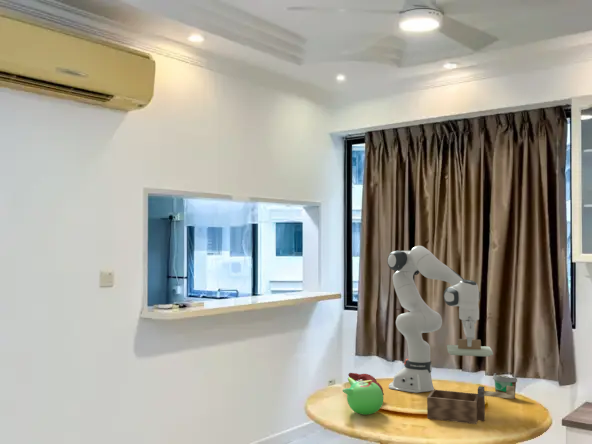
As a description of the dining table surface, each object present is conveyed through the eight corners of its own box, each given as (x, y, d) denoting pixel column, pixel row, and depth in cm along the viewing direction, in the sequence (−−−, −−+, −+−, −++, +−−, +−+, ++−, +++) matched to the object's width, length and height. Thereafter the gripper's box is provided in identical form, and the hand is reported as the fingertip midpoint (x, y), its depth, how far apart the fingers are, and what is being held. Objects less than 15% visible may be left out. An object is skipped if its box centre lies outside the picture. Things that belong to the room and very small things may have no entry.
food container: (487, 395, 292) (487, 374, 293) (495, 393, 296) (495, 372, 296) (510, 400, 283) (509, 379, 283) (517, 398, 286) (517, 377, 286)
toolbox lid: (448, 355, 272) (448, 341, 272) (447, 349, 285) (447, 336, 285) (493, 357, 268) (492, 343, 268) (489, 351, 281) (489, 338, 281)
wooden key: (481, 395, 252) (481, 384, 252) (481, 394, 254) (481, 383, 254) (514, 398, 247) (514, 387, 247) (514, 397, 249) (514, 386, 249)
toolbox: (427, 418, 255) (427, 386, 255) (433, 409, 267) (433, 379, 268) (482, 425, 246) (482, 392, 246) (485, 415, 259) (485, 384, 259)
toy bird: (382, 420, 252) (382, 385, 252) (342, 418, 255) (342, 383, 255) (384, 408, 269) (384, 375, 270) (347, 406, 273) (346, 374, 273)
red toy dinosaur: (357, 396, 306) (339, 376, 301) (368, 382, 309) (351, 363, 305) (388, 411, 280) (369, 390, 276) (400, 396, 283) (382, 374, 279)
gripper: (478, 318, 266) (478, 350, 266) (474, 312, 286) (474, 342, 286) (463, 318, 267) (463, 349, 267) (460, 312, 287) (460, 341, 287)
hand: (469, 345), depth 277 cm, fingers closed on toolbox lid, 2 cm apart
